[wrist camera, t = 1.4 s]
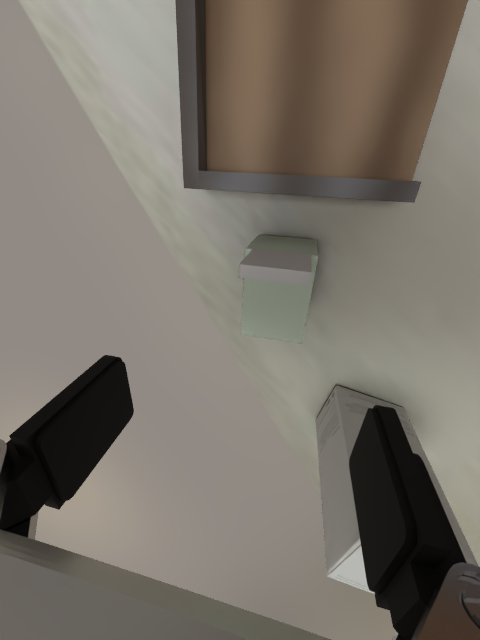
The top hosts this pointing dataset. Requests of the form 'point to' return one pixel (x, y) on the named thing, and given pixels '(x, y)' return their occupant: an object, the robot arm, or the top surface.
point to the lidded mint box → (277, 287)
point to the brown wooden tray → (310, 93)
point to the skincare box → (336, 488)
